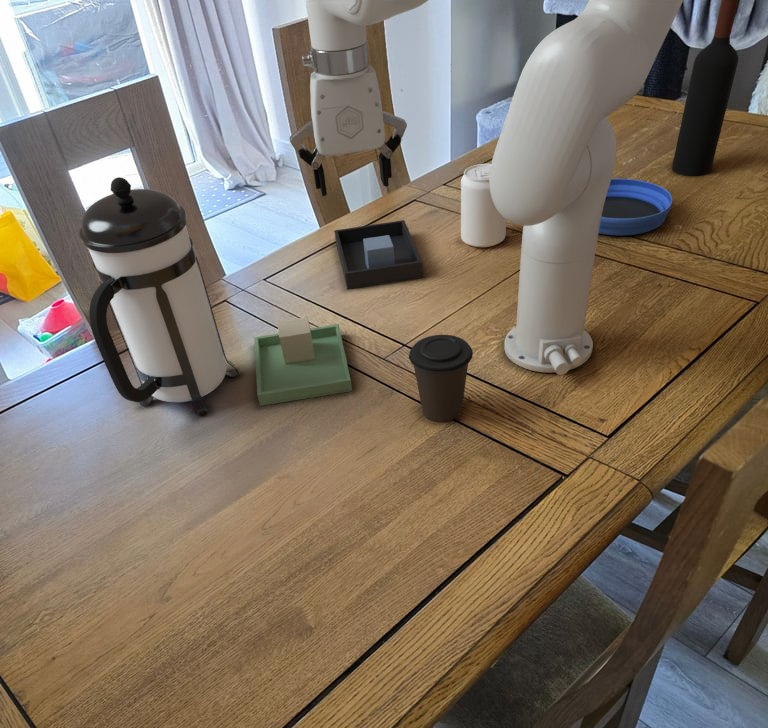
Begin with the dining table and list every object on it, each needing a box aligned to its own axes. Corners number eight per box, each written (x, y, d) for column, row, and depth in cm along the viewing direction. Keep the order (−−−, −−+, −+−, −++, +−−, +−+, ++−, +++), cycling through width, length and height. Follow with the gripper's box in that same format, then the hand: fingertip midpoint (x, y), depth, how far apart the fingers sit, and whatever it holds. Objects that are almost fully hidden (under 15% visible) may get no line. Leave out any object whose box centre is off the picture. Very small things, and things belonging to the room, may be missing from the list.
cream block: (315, 359, 104) (310, 332, 101) (284, 364, 104) (279, 337, 101) (312, 342, 107) (307, 316, 104) (283, 347, 107) (277, 321, 104)
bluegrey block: (395, 271, 121) (393, 246, 118) (369, 275, 121) (366, 250, 117) (391, 259, 124) (389, 234, 121) (365, 263, 124) (363, 238, 121)
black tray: (422, 277, 120) (422, 261, 117) (347, 289, 119) (345, 273, 117) (405, 235, 131) (404, 219, 129) (336, 245, 131) (334, 230, 129)
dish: (352, 391, 99) (350, 380, 97) (260, 406, 98) (257, 395, 97) (340, 334, 109) (338, 323, 108) (256, 347, 108) (254, 337, 107)
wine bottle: (671, 175, 140) (709, -7, 119) (672, 161, 145) (709, -17, 124) (711, 176, 138) (758, -9, 117) (710, 162, 143) (755, -18, 122)
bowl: (680, 235, 123) (685, 215, 120) (577, 242, 124) (579, 222, 121) (655, 193, 135) (658, 174, 133) (561, 200, 136) (563, 181, 134)
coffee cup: (477, 394, 96) (478, 331, 89) (466, 432, 90) (466, 367, 83) (420, 388, 98) (416, 326, 91) (405, 425, 92) (401, 361, 85)
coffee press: (126, 377, 106) (40, 172, 84) (229, 350, 109) (171, 145, 87) (140, 445, 94) (44, 227, 72) (254, 412, 97) (195, 193, 75)
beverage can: (504, 229, 130) (508, 161, 121) (505, 249, 124) (509, 179, 116) (461, 230, 131) (461, 163, 122) (460, 250, 125) (460, 181, 117)
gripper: (280, 76, 92) (301, 206, 104) (408, 58, 93) (414, 188, 105) (276, 61, 97) (296, 187, 109) (397, 44, 98) (404, 170, 111)
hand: (354, 187), depth 107 cm, fingers open, 9 cm apart
